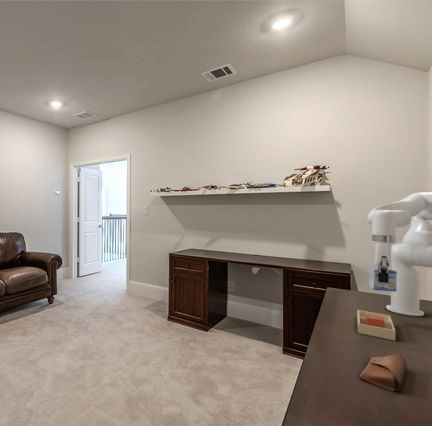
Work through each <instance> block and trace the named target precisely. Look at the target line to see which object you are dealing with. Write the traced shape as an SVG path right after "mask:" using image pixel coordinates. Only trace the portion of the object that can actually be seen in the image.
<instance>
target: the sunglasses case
mask: <svg viewBox="0 0 432 426" xmlns="http://www.w3.org/2000/svg"><path fill="white" fill-rule="evenodd" d="M407 363H408V362H407V360H406V358H405V357H404V356H403V355H402V354H391V355H386V356H385V355H384V356H373V357H370V358H369V360H368V363H367V365H366V366H365V367H364V369H363V371H362V372H361V373H360V375H359V378H361V379H362V380H364V381H366V382H369V383H370V384H373V385H375V386H378V387H380V388H383V389H386V390H388V391H391V392H397V391H399V390H401V386H402V384H403V381H404V376H405V373H406V370H407V366H408V365H407Z"/></svg>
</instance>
